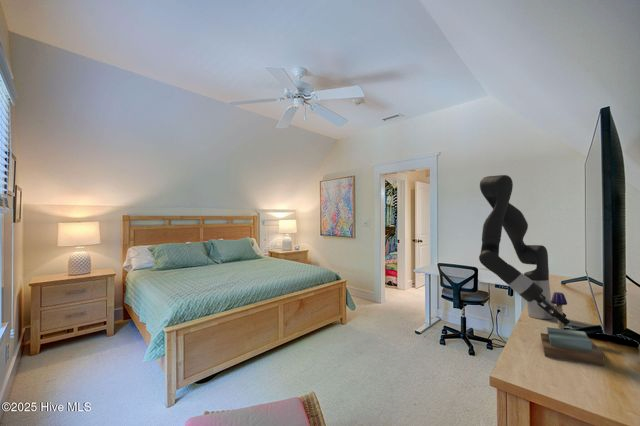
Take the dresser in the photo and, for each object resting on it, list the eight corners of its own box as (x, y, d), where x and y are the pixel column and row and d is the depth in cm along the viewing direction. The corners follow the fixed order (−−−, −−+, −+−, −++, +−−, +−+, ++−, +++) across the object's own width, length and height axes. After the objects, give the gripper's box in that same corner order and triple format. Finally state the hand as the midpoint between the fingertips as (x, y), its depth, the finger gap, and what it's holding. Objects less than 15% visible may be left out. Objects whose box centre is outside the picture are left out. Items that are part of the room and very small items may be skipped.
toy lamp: (564, 334, 107) (559, 291, 109) (574, 339, 103) (569, 293, 104) (551, 335, 108) (546, 291, 109) (560, 339, 103) (555, 294, 104)
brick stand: (541, 341, 103) (539, 324, 103) (593, 348, 95) (591, 330, 95) (545, 356, 91) (543, 337, 92) (604, 366, 83) (601, 345, 84)
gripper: (533, 284, 105) (578, 319, 98) (531, 277, 117) (571, 309, 110) (517, 297, 108) (560, 332, 100) (517, 289, 120) (555, 320, 112)
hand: (566, 320), depth 105 cm, fingers open, 7 cm apart
